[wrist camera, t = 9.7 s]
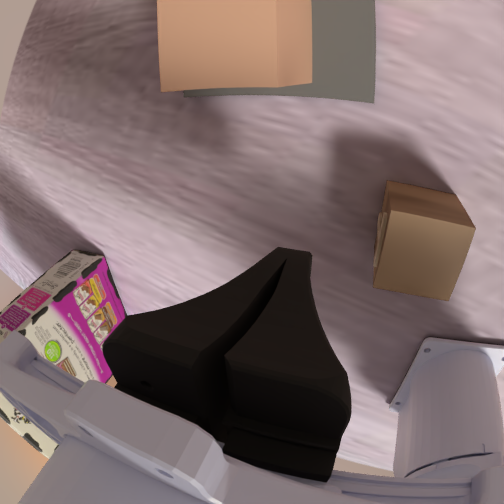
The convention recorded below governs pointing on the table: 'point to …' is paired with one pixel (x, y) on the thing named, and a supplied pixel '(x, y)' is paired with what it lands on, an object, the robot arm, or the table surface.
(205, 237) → the table surface
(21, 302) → the candy bar box
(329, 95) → the mat
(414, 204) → the brown cube
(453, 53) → the table surface
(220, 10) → the block
